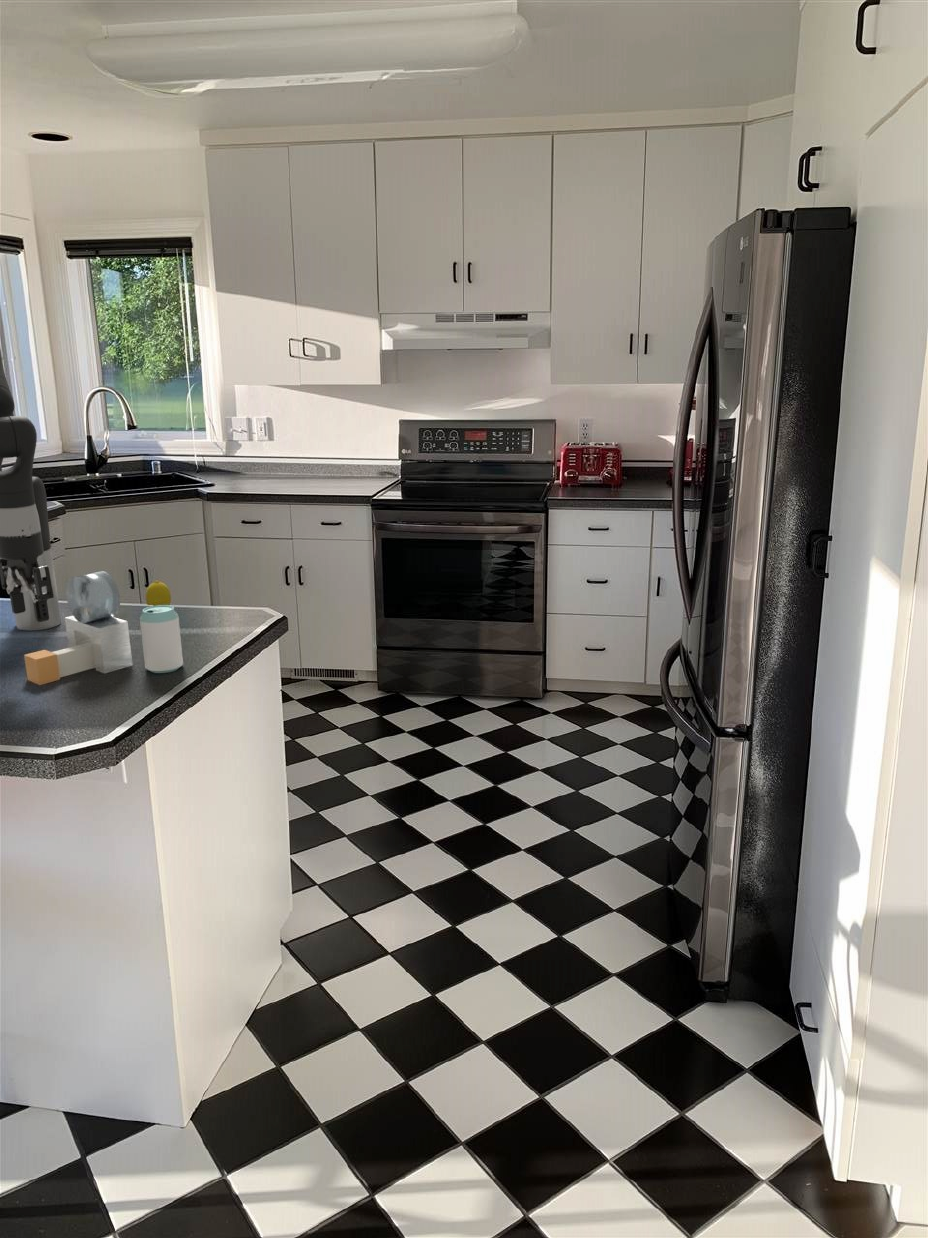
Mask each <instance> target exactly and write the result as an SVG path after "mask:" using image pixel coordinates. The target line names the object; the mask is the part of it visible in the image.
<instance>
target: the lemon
mask: <svg viewBox="0 0 928 1238" xmlns="http://www.w3.org/2000/svg"><path fill="white" fill-rule="evenodd" d="M171 600H172V595H171V591H170V589H169V587H168V586H167V585H166V584H165V583H163V582H161V581H159V580H155V581H154V582H151V584H149V585H148V586H147V588H146V591H145V601H146V604H147V607H151V606H148V605H153V606H157V605H169V606H171V604H172V603H171V602H172V601H171Z"/></svg>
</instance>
